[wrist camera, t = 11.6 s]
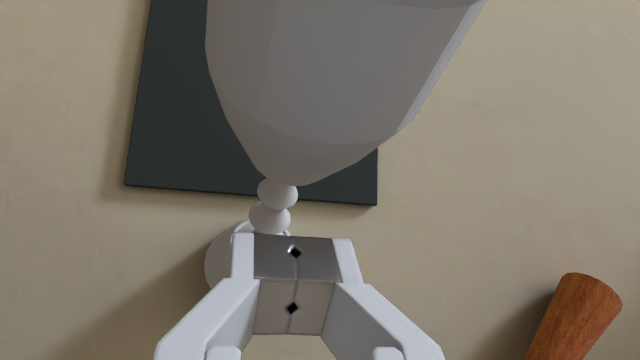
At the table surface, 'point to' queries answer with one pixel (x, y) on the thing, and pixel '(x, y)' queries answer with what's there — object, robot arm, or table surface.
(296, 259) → the robot arm
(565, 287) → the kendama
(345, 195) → the mat
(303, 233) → the table surface
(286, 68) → the chalice
